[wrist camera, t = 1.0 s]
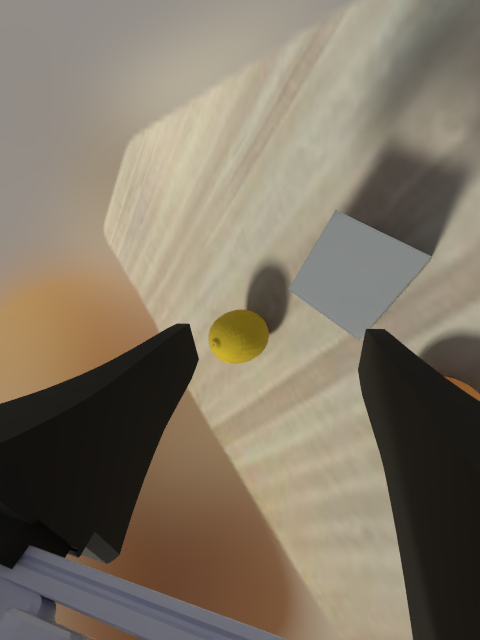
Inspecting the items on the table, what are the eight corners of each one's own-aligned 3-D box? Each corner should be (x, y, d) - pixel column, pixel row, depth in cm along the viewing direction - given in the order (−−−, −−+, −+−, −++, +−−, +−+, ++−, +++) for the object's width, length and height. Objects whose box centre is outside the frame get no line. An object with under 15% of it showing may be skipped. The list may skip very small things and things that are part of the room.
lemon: (258, 296, 27) (209, 303, 21) (290, 330, 26) (247, 349, 19) (235, 327, 30) (186, 341, 24) (262, 360, 29) (217, 385, 22)
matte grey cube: (429, 261, 18) (431, 256, 12) (375, 323, 20) (358, 340, 15) (358, 225, 20) (335, 210, 15) (318, 285, 23) (288, 289, 18)
